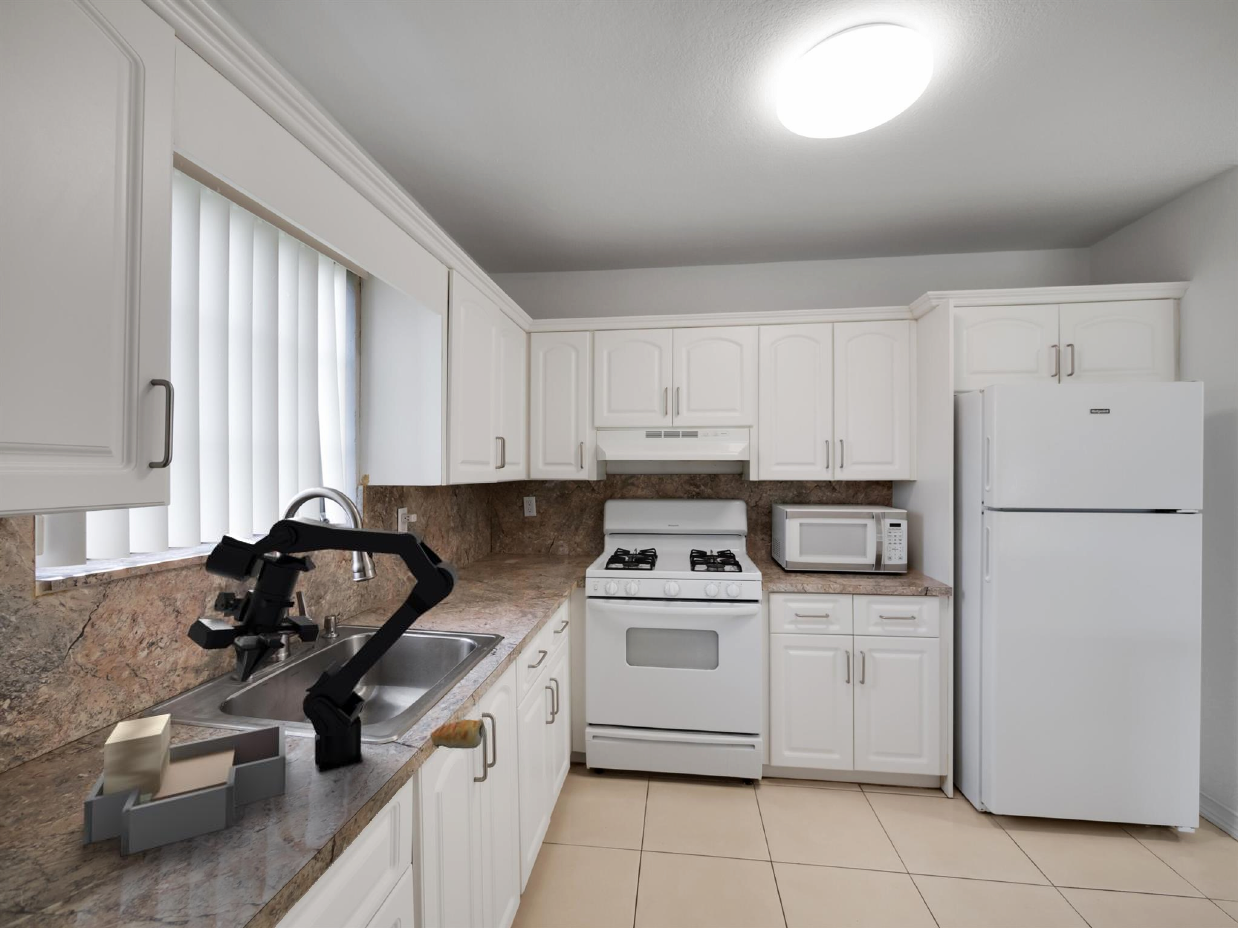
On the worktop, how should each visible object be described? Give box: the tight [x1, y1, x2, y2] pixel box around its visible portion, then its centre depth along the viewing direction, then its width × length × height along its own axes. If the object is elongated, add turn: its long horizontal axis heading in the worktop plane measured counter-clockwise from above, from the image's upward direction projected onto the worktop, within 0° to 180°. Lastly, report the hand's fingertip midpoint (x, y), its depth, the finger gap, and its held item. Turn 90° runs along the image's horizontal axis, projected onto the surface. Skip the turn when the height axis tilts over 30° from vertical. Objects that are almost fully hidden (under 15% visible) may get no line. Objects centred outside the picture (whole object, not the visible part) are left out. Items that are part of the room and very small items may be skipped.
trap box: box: [83, 722, 286, 857], centre depth 82 cm, size 22×19×6 cm
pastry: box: [429, 718, 486, 749], centre depth 101 cm, size 9×7×4 cm
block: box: [103, 713, 171, 795], centre depth 81 cm, size 6×8×8 cm
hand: (241, 681), depth 92 cm, fingers closed
